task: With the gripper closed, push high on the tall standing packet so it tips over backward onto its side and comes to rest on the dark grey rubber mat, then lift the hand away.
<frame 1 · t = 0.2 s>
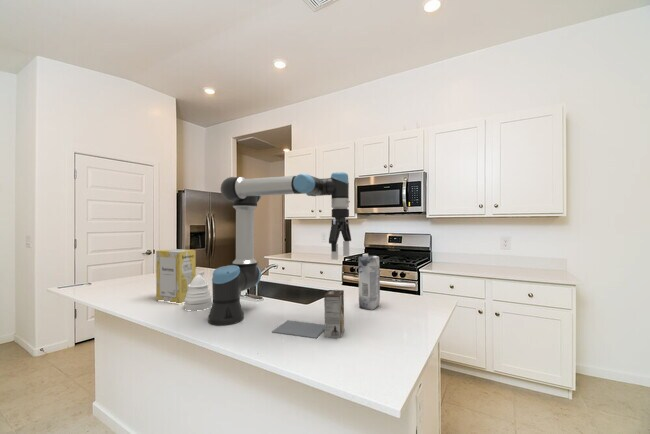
hand: (340, 257, 129), 28 cm above the countertop, tool pointing down, fingers open, 13 cm apart
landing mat: (300, 329, 121), on the countertop
juice carton: (369, 307, 151), on the countertop
pasta box: (176, 300, 166), on the countertop
coffee box: (334, 334, 116), on the countertop
honey pot: (198, 308, 152), on the countertop
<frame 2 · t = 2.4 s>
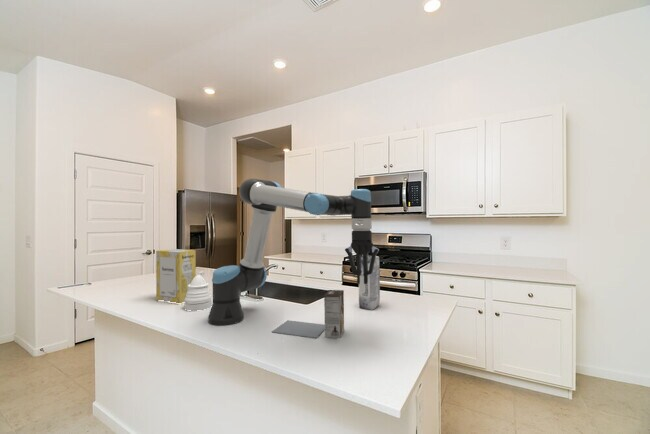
hand: (362, 292, 112), 17 cm above the countertop, tool pointing down, fingers closed
nothing on the countertop moved.
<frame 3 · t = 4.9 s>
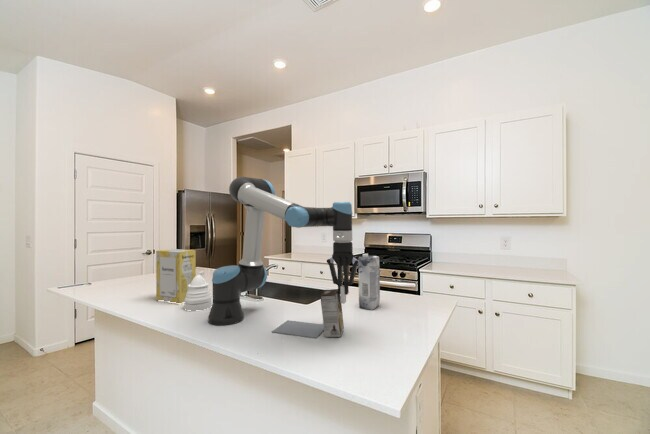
hand: (343, 302, 115), 12 cm above the countertop, tool pointing down, fingers closed
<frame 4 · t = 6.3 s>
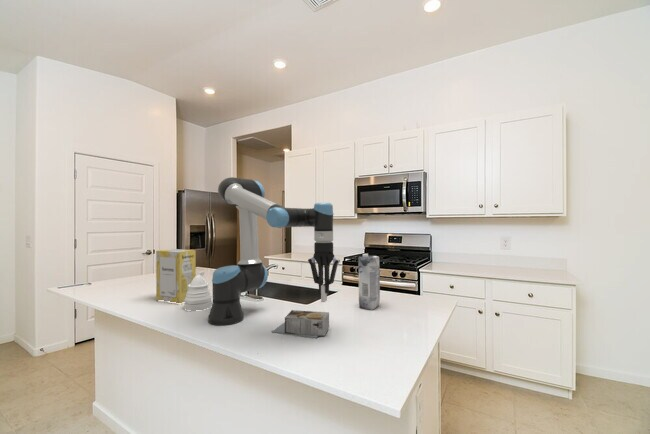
hand: (324, 301, 118), 12 cm above the countertop, tool pointing down, fingers closed
coffee box: (327, 323, 117), point 4 cm above the countertop, touching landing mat
everything else where it was.
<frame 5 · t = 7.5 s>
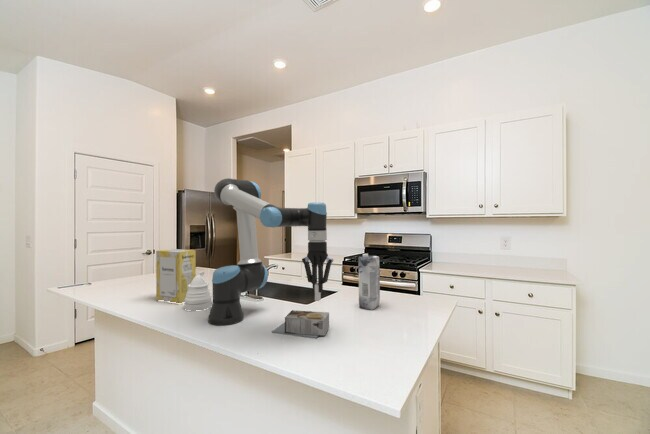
hand: (317, 300, 119), 12 cm above the countertop, tool pointing down, fingers closed
nothing on the countertop moved.
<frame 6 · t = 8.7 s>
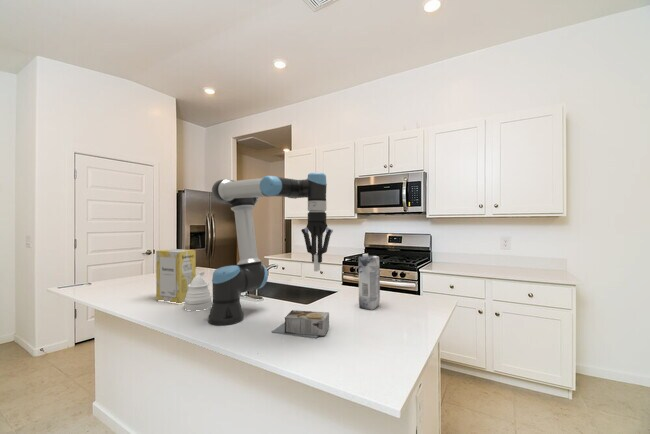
hand: (316, 270, 119), 24 cm above the countertop, tool pointing down, fingers closed
nothing on the countertop moved.
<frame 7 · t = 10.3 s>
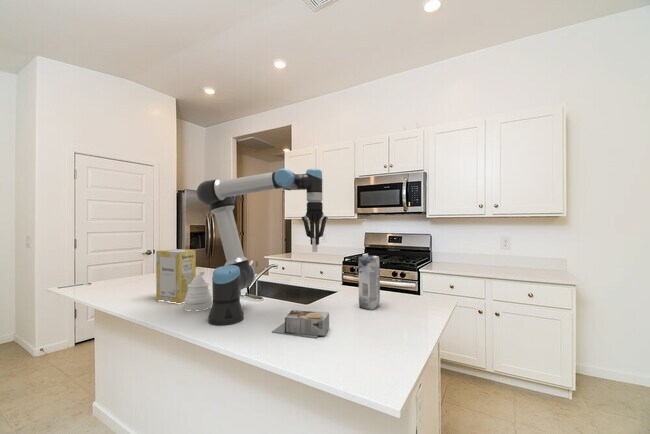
hand: (314, 251, 141), 29 cm above the countertop, tool pointing down, fingers closed
nothing on the countertop moved.
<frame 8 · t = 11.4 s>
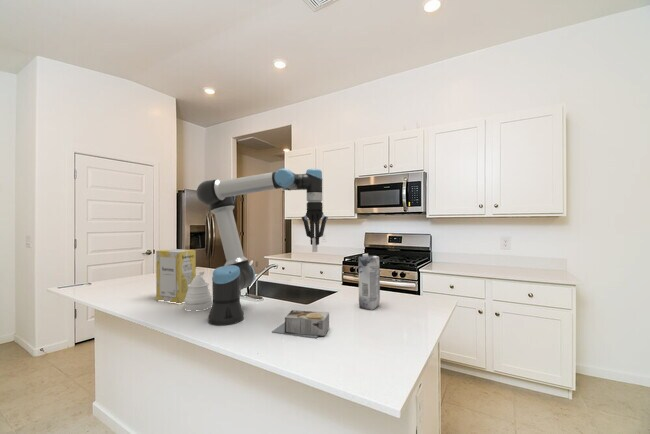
hand: (314, 251, 141), 29 cm above the countertop, tool pointing down, fingers closed
nothing on the countertop moved.
at the end: coffee box tilted 90°; coffee box inside the target area (1.7 cm from its centre), point 3.6 cm above the countertop; coffee box touching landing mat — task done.
